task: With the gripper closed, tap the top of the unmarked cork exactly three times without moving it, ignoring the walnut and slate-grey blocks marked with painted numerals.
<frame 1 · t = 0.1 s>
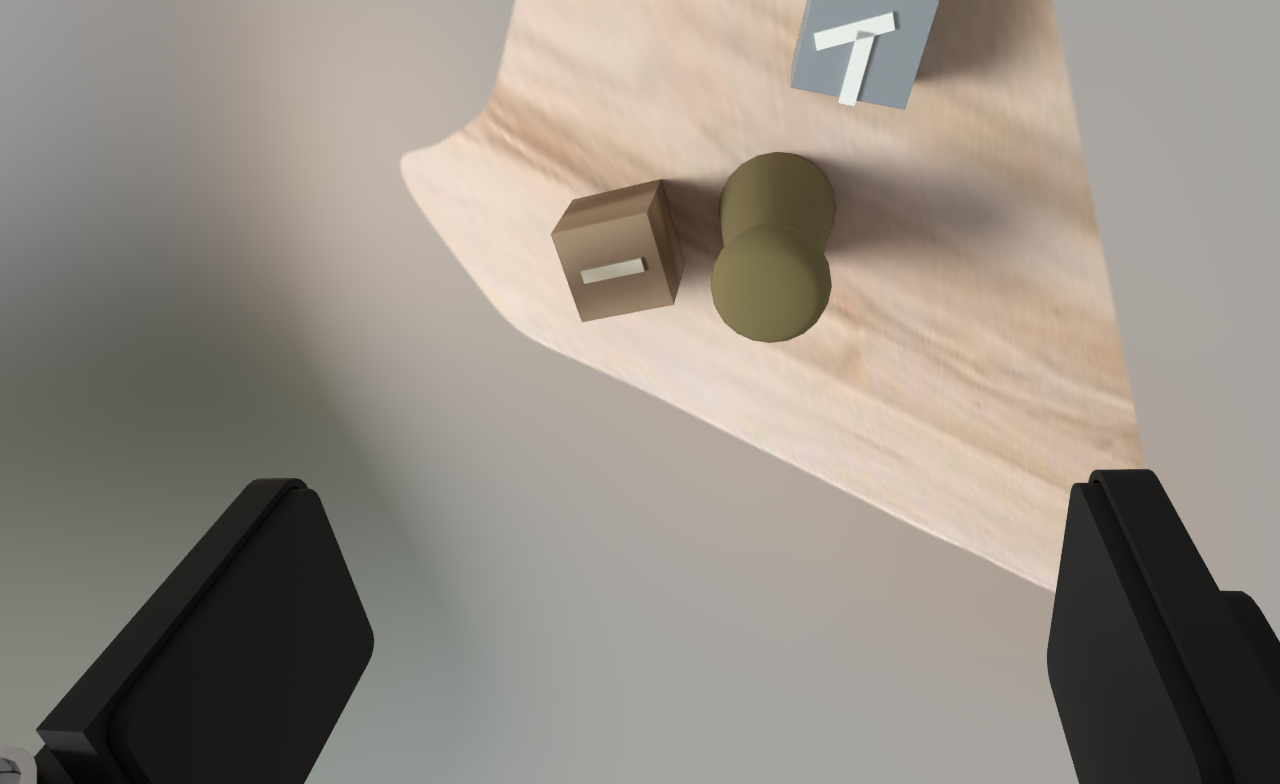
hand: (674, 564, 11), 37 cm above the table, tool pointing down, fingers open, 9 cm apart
walnut numeral block: (629, 232, 48), on the table
slate numeral block: (858, 17, 41), on the table
cork: (776, 207, 46), on the table
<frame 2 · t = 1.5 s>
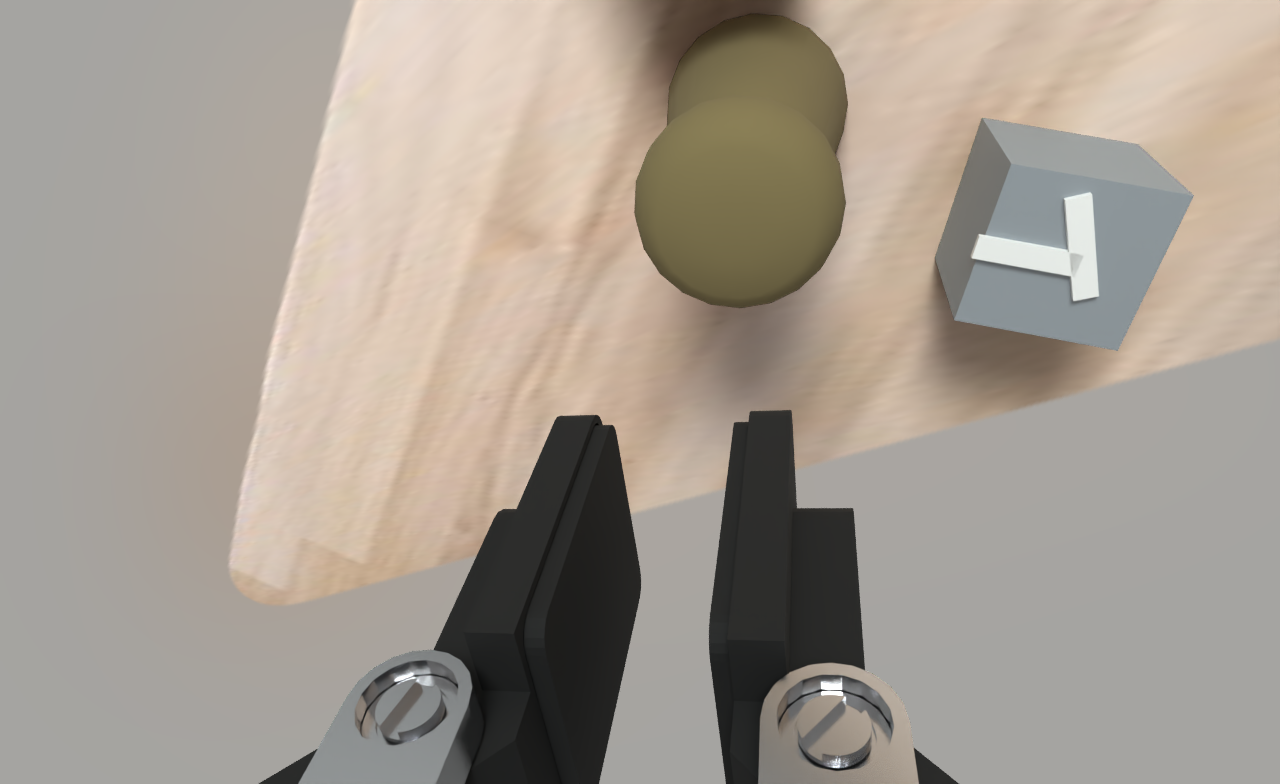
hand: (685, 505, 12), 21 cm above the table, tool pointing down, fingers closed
slate numeral block: (1030, 203, 30), on the table
cork: (756, 108, 30), on the table
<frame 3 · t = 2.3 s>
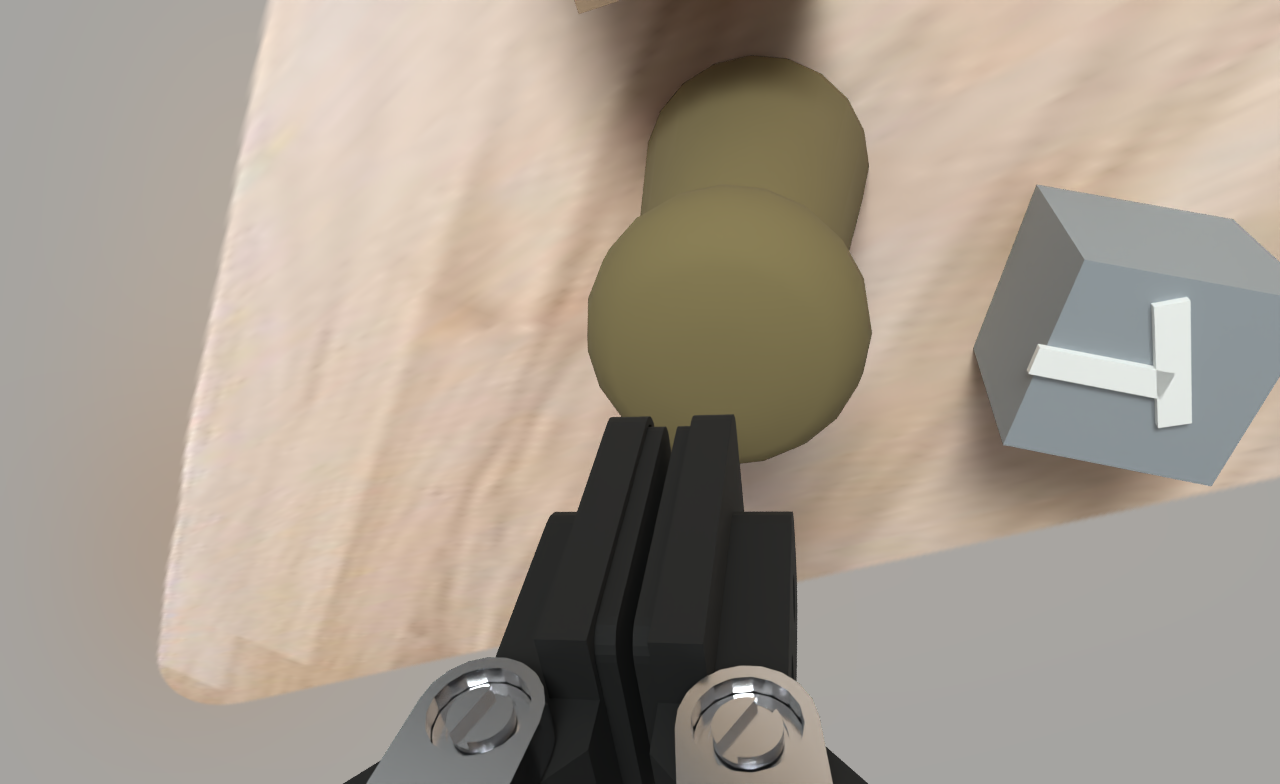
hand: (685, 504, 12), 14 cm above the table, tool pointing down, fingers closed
slate numeral block: (1094, 286, 24), on the table
cork: (755, 169, 24), on the table
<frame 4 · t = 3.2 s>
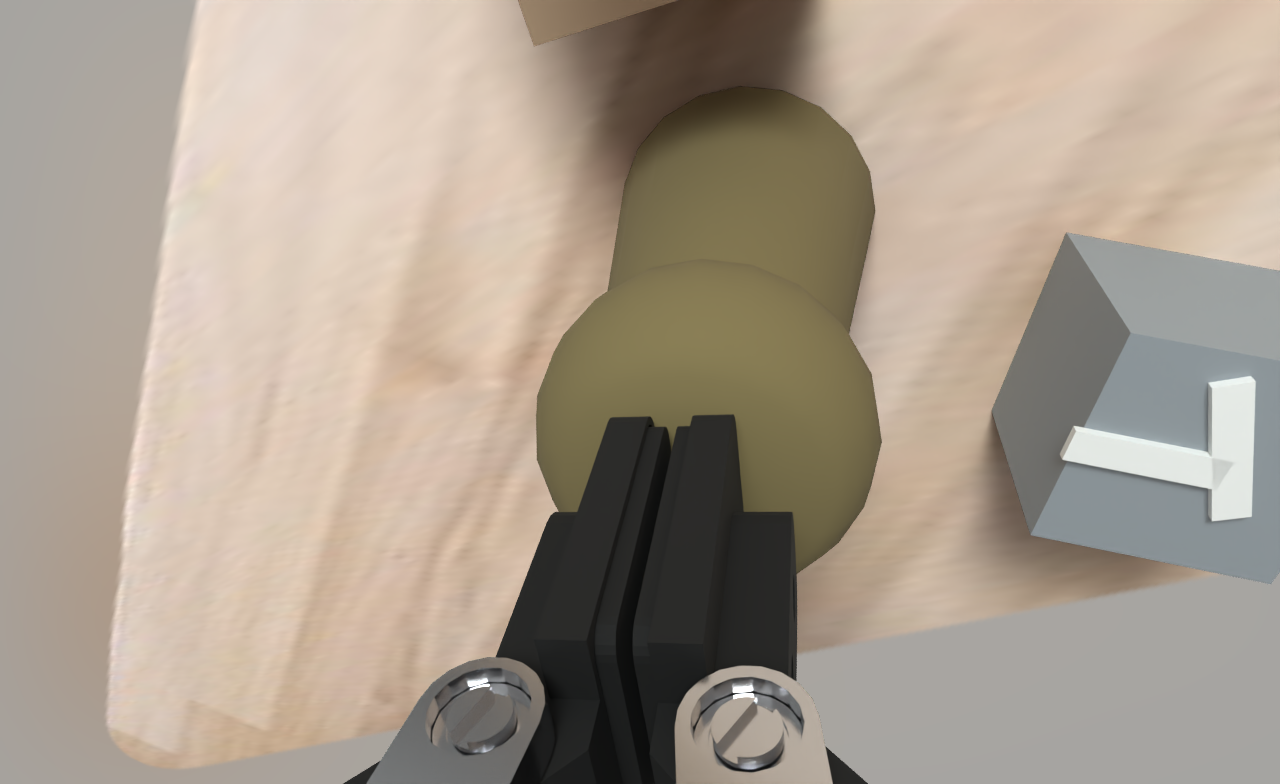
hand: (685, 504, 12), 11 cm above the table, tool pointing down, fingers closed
slate numeral block: (1129, 345, 22), on the table
cork: (746, 212, 21), on the table, touching gripper
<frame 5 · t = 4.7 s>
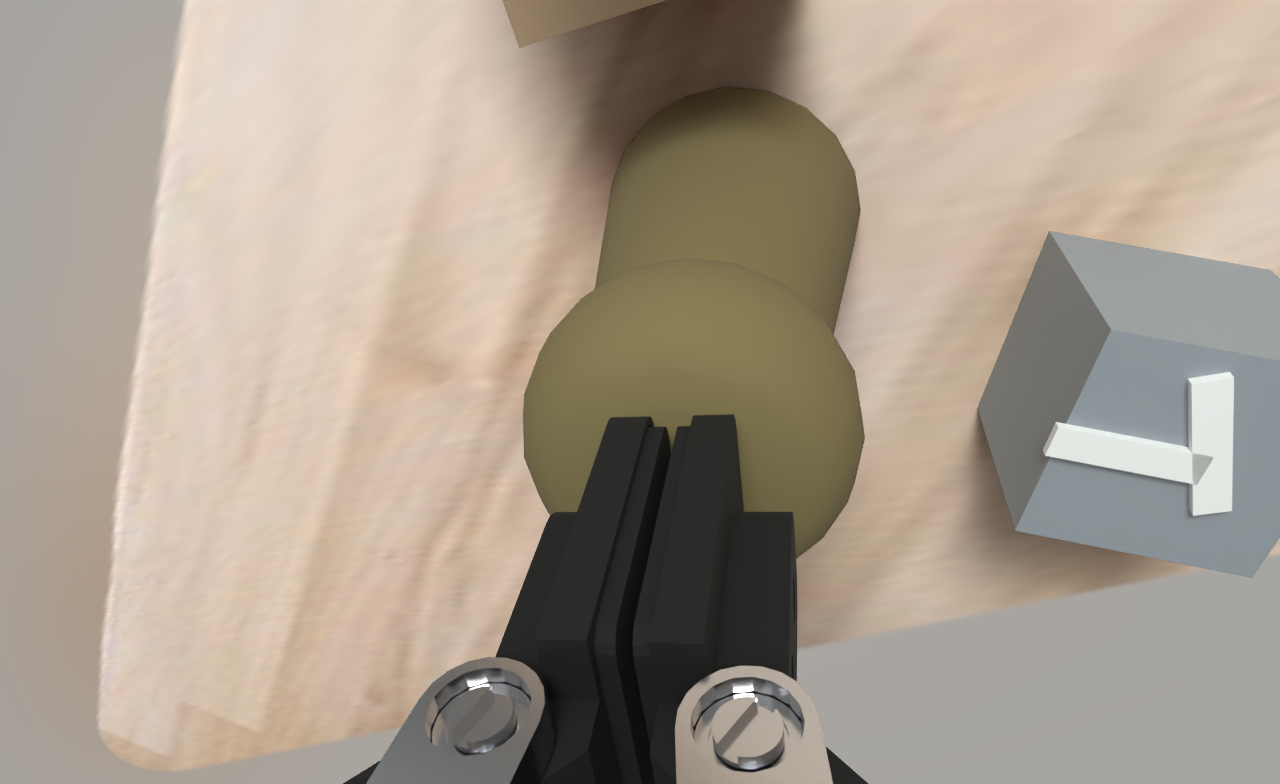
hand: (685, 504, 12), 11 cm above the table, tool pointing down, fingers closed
slate numeral block: (1112, 342, 22), on the table
cork: (732, 212, 22), on the table
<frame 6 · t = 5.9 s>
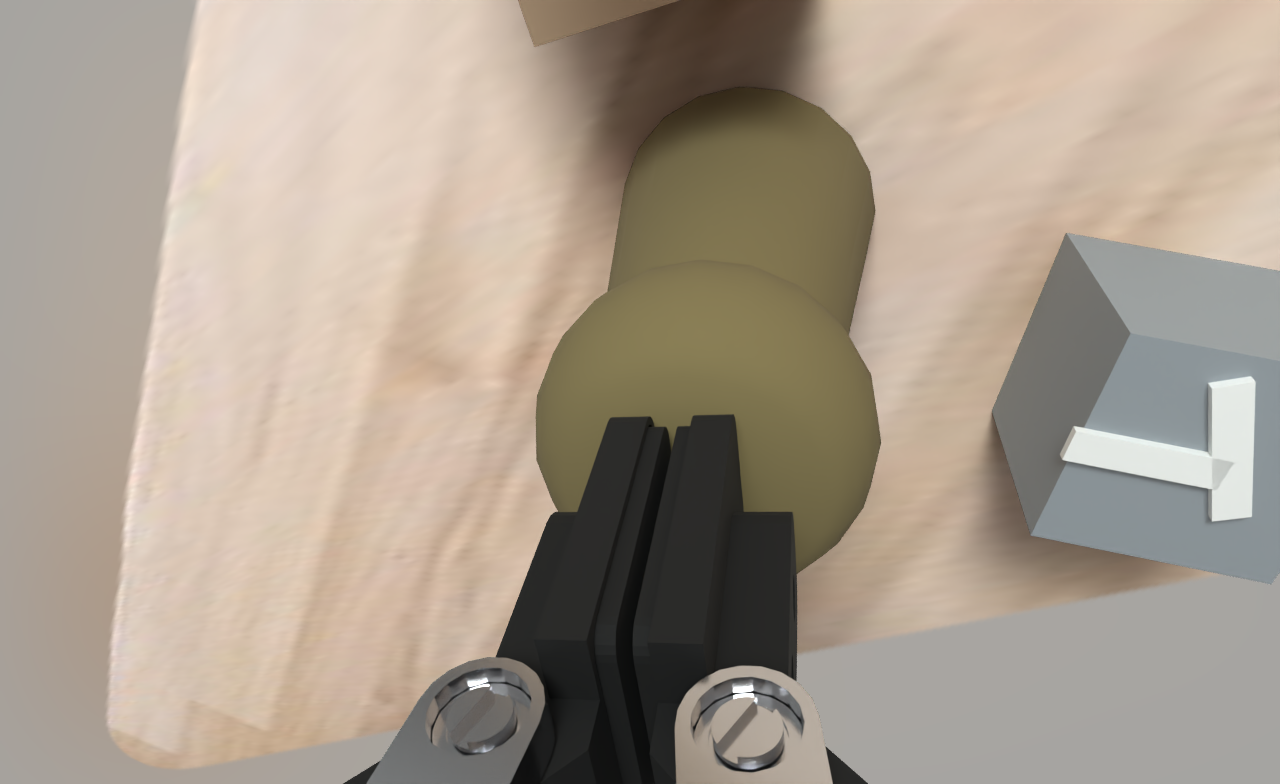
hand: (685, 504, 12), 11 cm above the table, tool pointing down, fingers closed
slate numeral block: (1129, 345, 22), on the table
cork: (746, 213, 21), on the table, touching gripper
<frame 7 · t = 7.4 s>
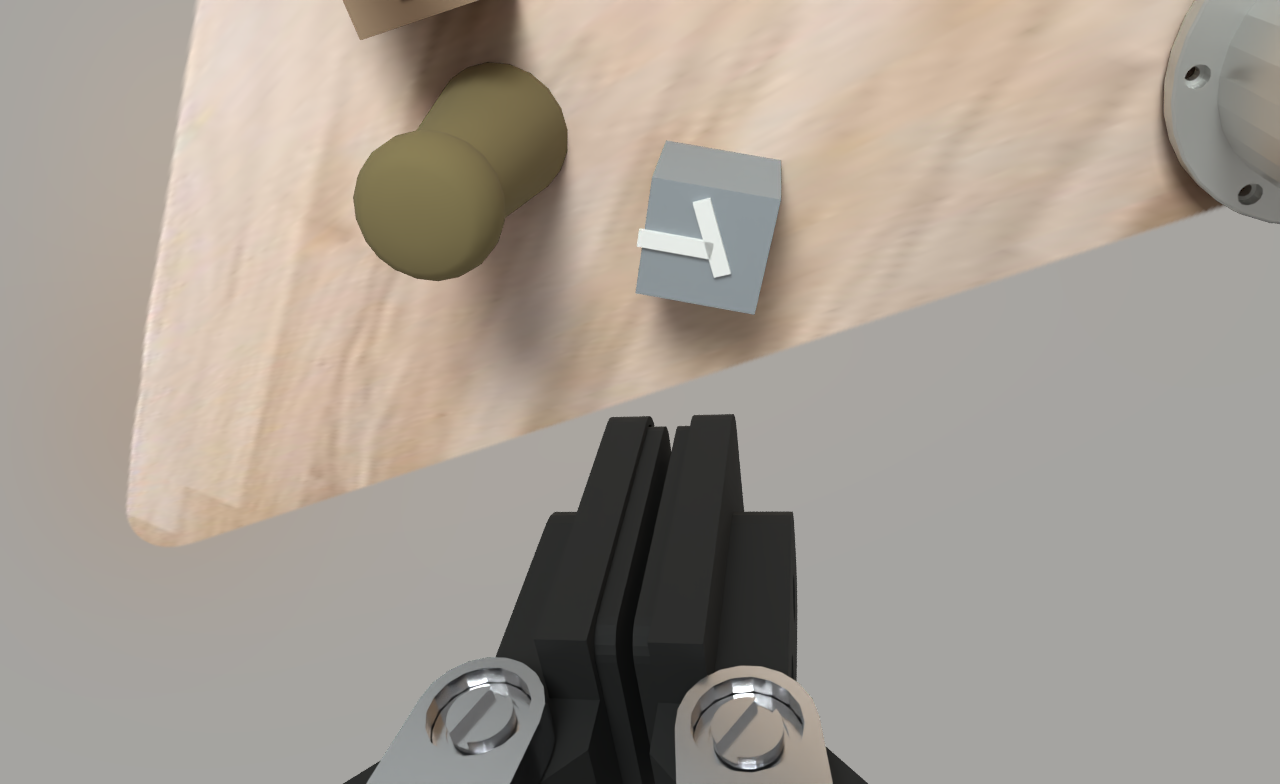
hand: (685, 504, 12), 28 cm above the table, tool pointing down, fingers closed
slate numeral block: (713, 204, 39), on the table
cork: (501, 132, 39), on the table
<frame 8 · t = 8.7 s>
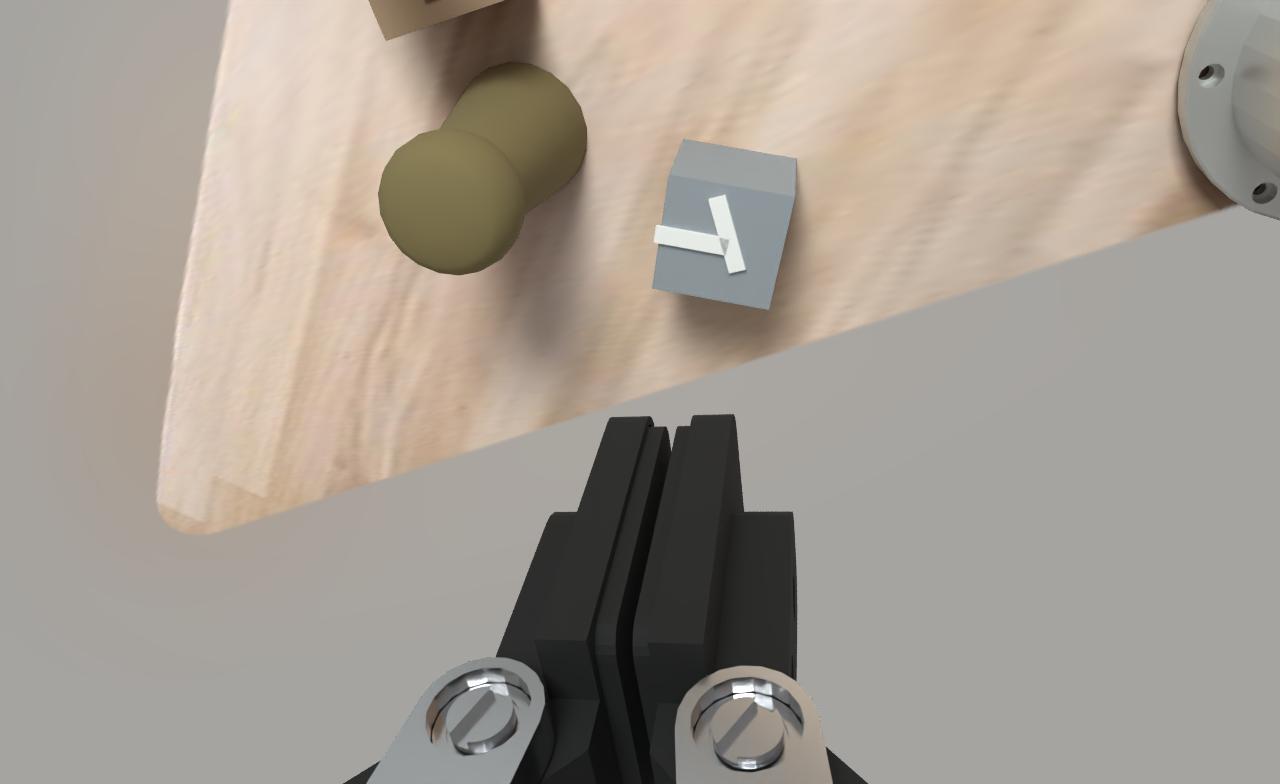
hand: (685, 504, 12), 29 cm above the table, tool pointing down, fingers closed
slate numeral block: (729, 202, 40), on the table
cork: (522, 131, 40), on the table
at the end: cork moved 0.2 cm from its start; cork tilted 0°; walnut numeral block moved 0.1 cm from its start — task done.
